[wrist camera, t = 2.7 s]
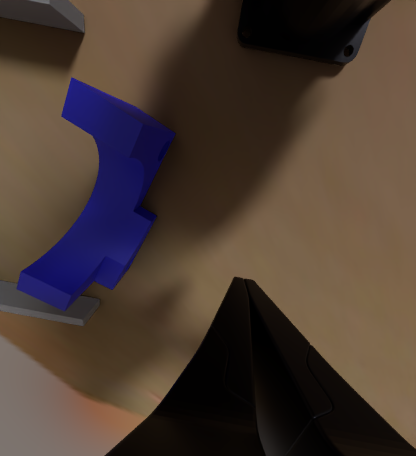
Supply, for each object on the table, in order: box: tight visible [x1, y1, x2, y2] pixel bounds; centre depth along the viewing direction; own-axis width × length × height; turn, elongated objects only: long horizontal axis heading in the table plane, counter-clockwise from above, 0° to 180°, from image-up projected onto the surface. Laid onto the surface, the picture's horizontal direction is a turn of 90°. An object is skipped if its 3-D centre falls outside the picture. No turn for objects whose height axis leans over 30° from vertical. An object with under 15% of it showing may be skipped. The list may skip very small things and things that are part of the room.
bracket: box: [0, 0, 100, 326], centre depth 14 cm, size 11×22×2 cm, turn 170°
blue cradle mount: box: [16, 77, 176, 312], centre depth 13 cm, size 12×4×6 cm, turn 148°
